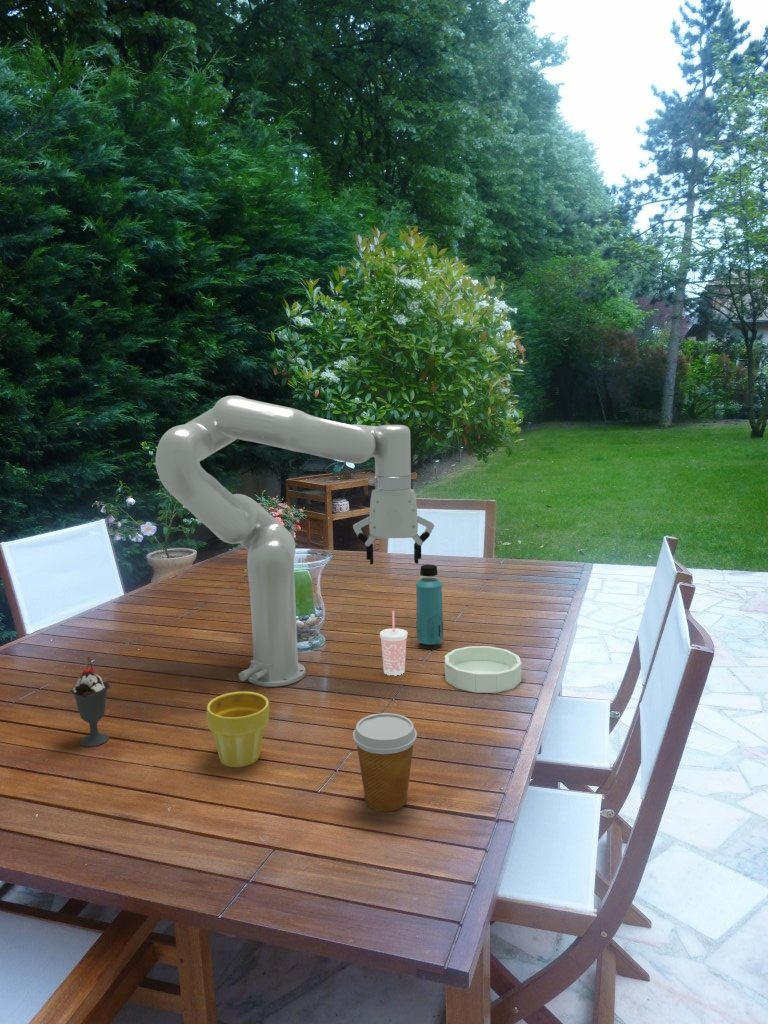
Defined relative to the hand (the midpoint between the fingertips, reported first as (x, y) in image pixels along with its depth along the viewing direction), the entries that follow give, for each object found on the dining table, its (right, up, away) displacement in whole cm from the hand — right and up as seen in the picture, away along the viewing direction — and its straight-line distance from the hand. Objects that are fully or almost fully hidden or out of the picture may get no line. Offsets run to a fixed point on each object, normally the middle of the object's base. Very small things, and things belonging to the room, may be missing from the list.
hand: (393, 562), depth 153 cm
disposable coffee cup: (-2, -33, -45) cm, 56 cm away
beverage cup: (0, -25, +4) cm, 25 cm away
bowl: (+19, -25, 0) cm, 31 cm away
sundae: (-54, -30, -25) cm, 67 cm away
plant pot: (-27, -31, -32) cm, 52 cm away
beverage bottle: (+9, -22, +19) cm, 30 cm away
